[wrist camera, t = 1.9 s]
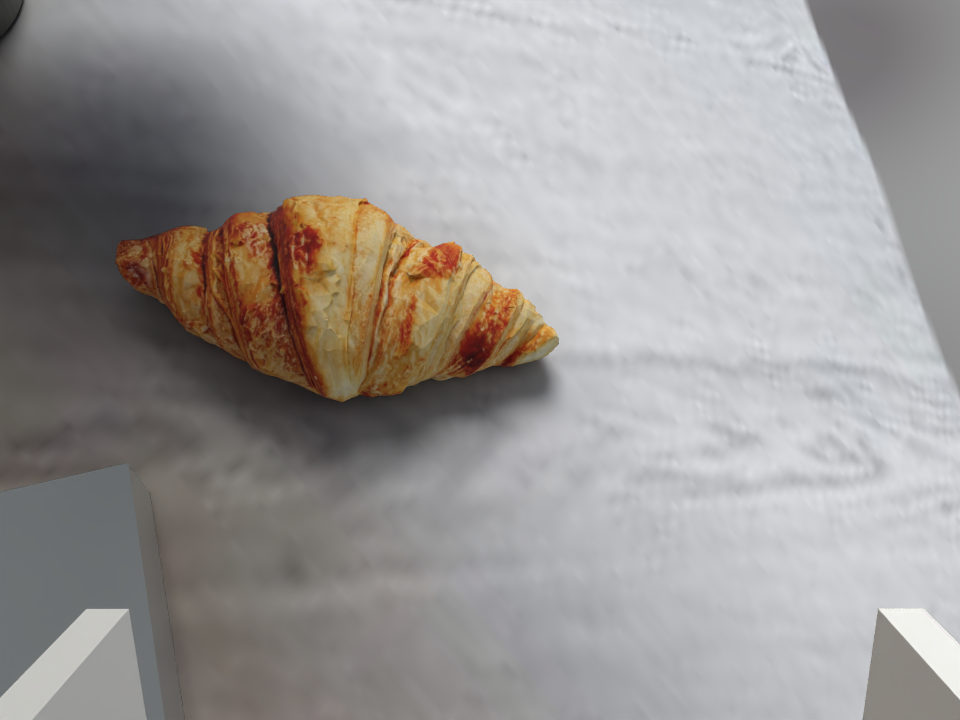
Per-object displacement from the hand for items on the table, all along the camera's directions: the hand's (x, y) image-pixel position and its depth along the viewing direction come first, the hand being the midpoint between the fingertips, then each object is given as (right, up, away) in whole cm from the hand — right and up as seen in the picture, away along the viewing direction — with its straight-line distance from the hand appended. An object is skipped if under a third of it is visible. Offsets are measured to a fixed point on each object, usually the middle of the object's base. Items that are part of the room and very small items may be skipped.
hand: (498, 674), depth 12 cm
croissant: (-7, +7, +23) cm, 25 cm away
